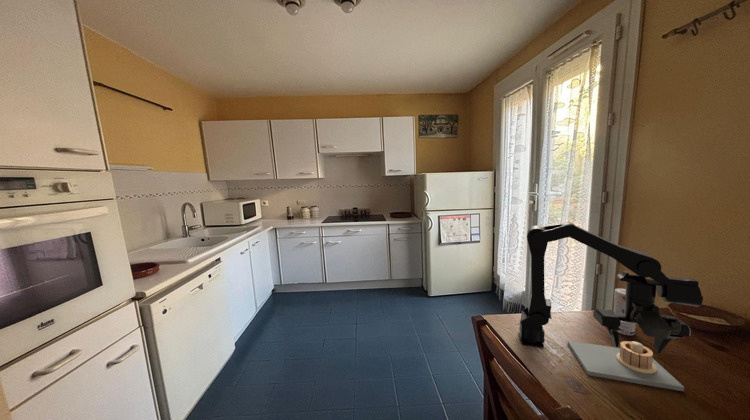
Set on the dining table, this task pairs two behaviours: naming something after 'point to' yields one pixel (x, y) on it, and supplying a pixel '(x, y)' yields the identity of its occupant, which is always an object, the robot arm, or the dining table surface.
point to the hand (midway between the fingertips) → (636, 349)
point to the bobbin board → (621, 366)
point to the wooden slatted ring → (636, 356)
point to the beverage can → (618, 306)
